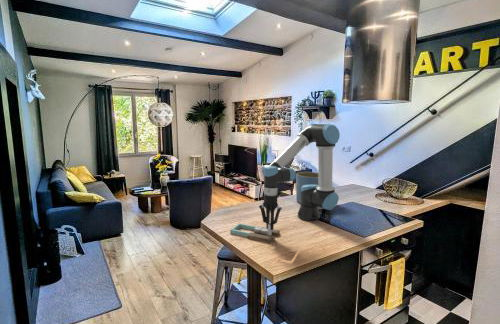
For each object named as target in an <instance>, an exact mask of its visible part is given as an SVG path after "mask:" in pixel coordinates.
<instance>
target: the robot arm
mask: <svg viewBox="0 0 500 324" xmlns="http://www.w3.org/2000/svg"><path fill="white" fill-rule="evenodd" d="M340 137H341V135H340V131H339V128H338V127H337V126H336V125H335V124H330V123H326V124H325V123H323V124H322V123H319V124H318V123H313V124H311V125H308V126H306V127H305V128H303V129H302V130H301V131H300V132H299V133H298V134H297V135H296V138H295V139H294V140H293V141H292V142H291V143H290V144H289V145H288V146H286V148H285V149H284V150H283V151H282V152H281V153H280V154H279V155H278V156H277V157H276V158H275V159H273V161H272V162H271V163H270V164H264V165H263V166H262V168H261V173H262V176H263V180H264V181H263V184H264V185H263V202H262V203H261V204H260V205H259V206H258V208H259V209H260V213H261V218H262V222H263V223H265V224H266V225H265V228H266V229H268V236H271V234H272V230H273V229H274V225H276V224H277V223H278V220H279V216H280V212H281V211H282V209H283V207H281V206H279V202H278V192H279V191H278V186H279V185H278V184H281V183H282V184H283V183H289V182H292V181H294V180H295V179H296V174H297V173H296V171H295V169H294V168H291V167H289V168H288V167H287V168H285V167H286V166H287V165H288V164H289V163H290V162H291V161H292V160H293V159H294V158H295V157H296V156H297V155H298V154H299V153H300V152H301V150H303V149H304V148H305V147H308V146H309V145H310V144H311V143H315V147H317V149H318V152H317V153H318V157H317V158H318V162H317V163H318V172H317V173H318V185H315V184H309V185H303V186H302V187H301V203H300V207H299V209H298V212H297V218H298V219H300V220H303V221H307V222H315V221H318V220H320V215H321V214H320V211H319V208H322V209H324V210H329V211H330V210H334V208H336V206H337V205H338V202H339V194H338V193H336V191H335V186H333V162H334V161H333V156H334V155H333V153H334V152H333V151H334V150H333V149H334V148H335V147H336V144H337V143H338V142H339V140H340ZM275 211H276V212H275Z"/></svg>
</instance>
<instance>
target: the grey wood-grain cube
mask: <svg viewBox="0 0 500 324" xmlns="http://www.w3.org/2000/svg"><path fill="white" fill-rule="evenodd" d="M261 234H262V235H266V236H268V229H266V227H264V228H263V229H262V230H261Z"/></svg>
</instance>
